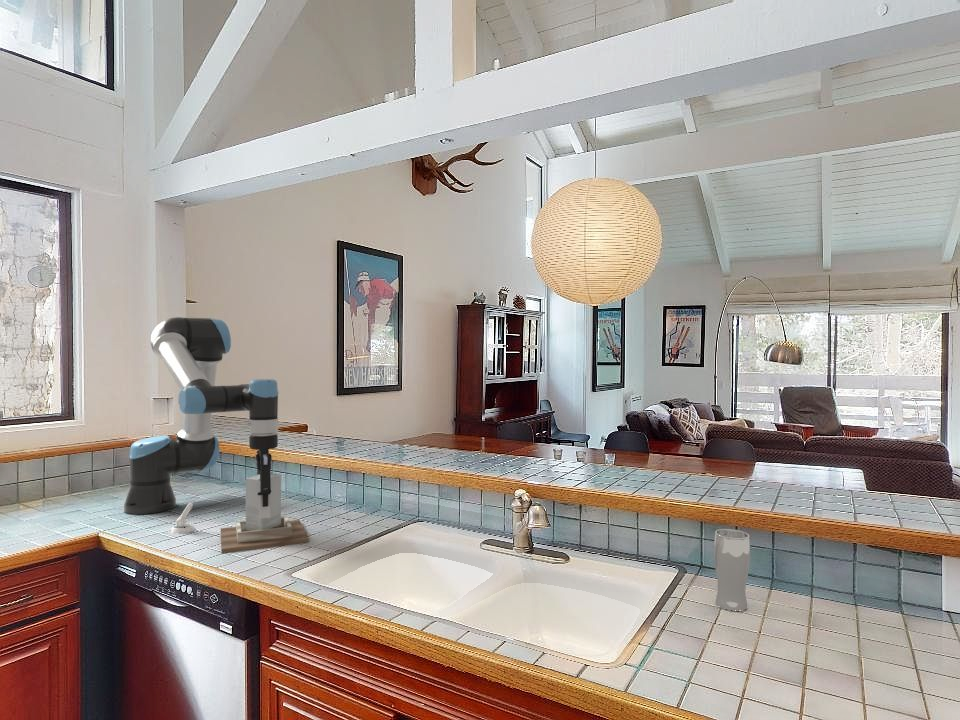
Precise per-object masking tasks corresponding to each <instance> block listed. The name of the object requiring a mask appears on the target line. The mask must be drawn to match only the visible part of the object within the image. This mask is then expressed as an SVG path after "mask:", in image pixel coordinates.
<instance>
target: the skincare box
mask: <svg viewBox="0 0 960 720" xmlns="http://www.w3.org/2000/svg"><path fill="white" fill-rule="evenodd" d="M270 477H271V493H270V518H262V519H260V495H258V492H260V474H259V475H257V474H256V475H253V476H250V477H246V478H245V521H246V530H249V531H254V530H263V529H271V528H273V527H275V526H278V525H280V524H281V517H282V502H281V501H282V474H280V473H279V474H278V473H273V472H270Z"/></svg>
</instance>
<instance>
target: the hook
mask: <svg viewBox="0 0 960 720" xmlns="http://www.w3.org/2000/svg"><path fill="white" fill-rule="evenodd" d="M193 507H194V503H193V502H189V503H188V504H187V505H186V507H185V508H184V509H183V511H182V512H181V514H180V516H179V517H177V519H176V520H175V525H173V526H172V527H171V530H170V533H172V534H176V533H179V534H186V533H190V532H193V531H195V530H196V527H195V525H194V524H193V523H189V522H188V521H187V516H188V514H189V513H190V511H191V510H192V508H193ZM184 527H185V528H184Z"/></svg>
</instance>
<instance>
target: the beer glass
mask: <svg viewBox="0 0 960 720" xmlns="http://www.w3.org/2000/svg"><path fill="white" fill-rule="evenodd" d="M750 542H751V541H750V534H749V533H747V532H745V531H742V530H738V529H733V528H732V529H731V528H730V529H729V528H720V529H717V530H715V531H714V542H713V560H714V569H715V574H716V580H717V581H716V582H717V592H716V593H717V594H716V597H715V598H716V599H715V605H716V604H717V605H718V606H720V607H722V608H725V609H728V610H734V611H735V610H736V611H739V610H741V611H742V610H745V609H747V610H748V608H747V607H748V601H747V595H746V594H747V593H746V588H747V581H748V576H749V571H750V566H751V543H750ZM717 605H716V606H717ZM718 606H717V607H718ZM720 607H719V608H720ZM722 608H721V609H722ZM728 610H727V611H728ZM745 611H746V610H745ZM742 612H743V611H742Z"/></svg>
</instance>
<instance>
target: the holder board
mask: <svg viewBox="0 0 960 720" xmlns="http://www.w3.org/2000/svg"><path fill="white" fill-rule="evenodd" d="M305 543H307V544H308V543H310V538H309V535H308V533H307V532H306V530H305V528H304V526H303V524H302V523H301V520H300V519H296V520H295V519H293V520H289V517H288V516H287V515H286V516H281V524H280V525H278V526H275V527H273V528H271V529H263V530H254V531H249V530H246V520H240V521H239V520H238V521H235V526H231V527H229V526H228V527H220V546H221V550H220V551H221V554H224V553H231V552H232V553H233V552H240V551H248V550H249V551H250V550H256V549H264V548H273V547H280V546H281V547H282V546H290V545H298V544H305Z"/></svg>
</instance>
